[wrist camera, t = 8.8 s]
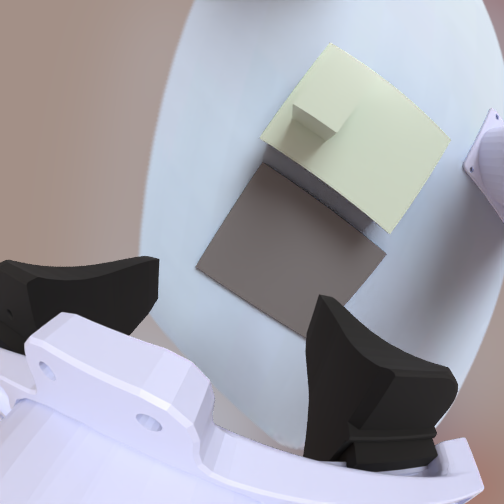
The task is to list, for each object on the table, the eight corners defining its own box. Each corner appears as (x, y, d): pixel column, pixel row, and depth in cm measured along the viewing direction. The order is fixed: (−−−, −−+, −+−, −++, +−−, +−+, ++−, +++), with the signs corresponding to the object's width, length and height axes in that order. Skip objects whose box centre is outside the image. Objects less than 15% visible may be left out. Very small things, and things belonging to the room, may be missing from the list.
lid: (442, 140, 15) (483, 137, 10) (384, 229, 18) (413, 252, 13) (327, 49, 14) (339, 14, 9) (261, 139, 17) (250, 129, 12)
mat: (385, 252, 20) (386, 254, 20) (310, 338, 24) (311, 341, 23) (263, 162, 20) (262, 162, 19) (197, 265, 23) (195, 266, 23)
